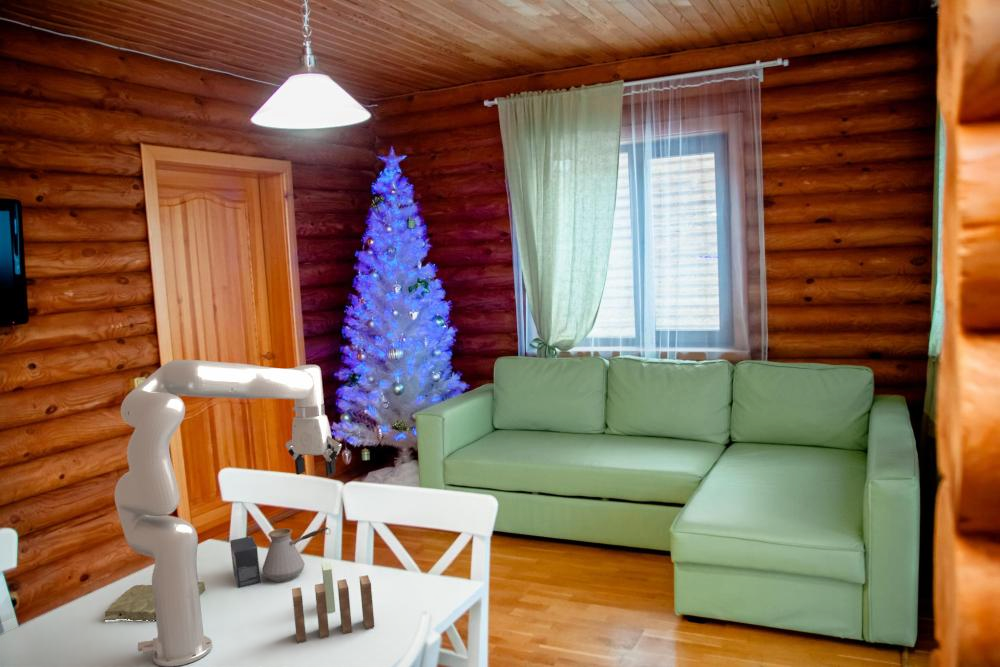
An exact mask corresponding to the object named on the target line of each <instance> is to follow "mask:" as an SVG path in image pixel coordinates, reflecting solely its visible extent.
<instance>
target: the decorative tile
mask: <svg viewBox="0 0 1000 667" xmlns="http://www.w3.org/2000/svg"><path fill="white" fill-rule="evenodd" d="M205 585H206V584H205V582H204V581H198V586H199V596H200V595H201V594H202V595H203V594H204V593H205V592H206V586H205ZM202 595H201V596H202ZM201 596H200V597H201ZM116 619H127V620H128V619H130V620H142V621H146V620H148V621H150V622H156V621H155V620H156V613H155V604H154V596H153V589H152V584H135V585H133V586H132V587H129V589H127V590H126V591H124V593H122V594H121V595H120V596H119V597H118V598H116V600H115V601H114V602H112V603H111V604H110V605H109V607H108V608H107V609H106V610H105V611H104V618H103V622H104V621H105V620H116ZM153 620H154V621H153ZM148 621H146V622H148Z"/></svg>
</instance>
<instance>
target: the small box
mask: <svg viewBox="0 0 1000 667" xmlns="http://www.w3.org/2000/svg"><path fill="white" fill-rule="evenodd" d="M230 552H231V564H232V571H233V575H234V578H235V582H236V584H237V588H238V589H241V588H245V587H250V586H254V585H258V584H261V583H262V578H261V571H260V563H259V557H258V556H259V554H258V546H257V544H256V541H255V540H254V537H253V536H252V535H250V536H245V537H241V538H235V539H232V540H230Z"/></svg>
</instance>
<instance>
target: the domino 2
mask: <svg viewBox="0 0 1000 667" xmlns="http://www.w3.org/2000/svg"><path fill="white" fill-rule="evenodd" d="M314 590H315V604H316V613H317V614H316V615H317V623H318V632H319V637H321V638H320V639H325V637H326V638H330V629H329V626H330V625H329V618H328V617H329V616H328V613H327V604H326V593H325V588H324V584H323V582H322V583H318V584H314Z"/></svg>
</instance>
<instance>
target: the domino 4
mask: <svg viewBox="0 0 1000 667" xmlns="http://www.w3.org/2000/svg"><path fill="white" fill-rule="evenodd" d="M336 581H337V592H338V603H339V617H340V626H341V629H342V633H343V634H342V635H346V634H351V633H353V625H352V616H351V615H352V614H351V604H350V602H351V601H350V592H349V590H350V588H349V585H348V582H347V579H339V580H336Z"/></svg>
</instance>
